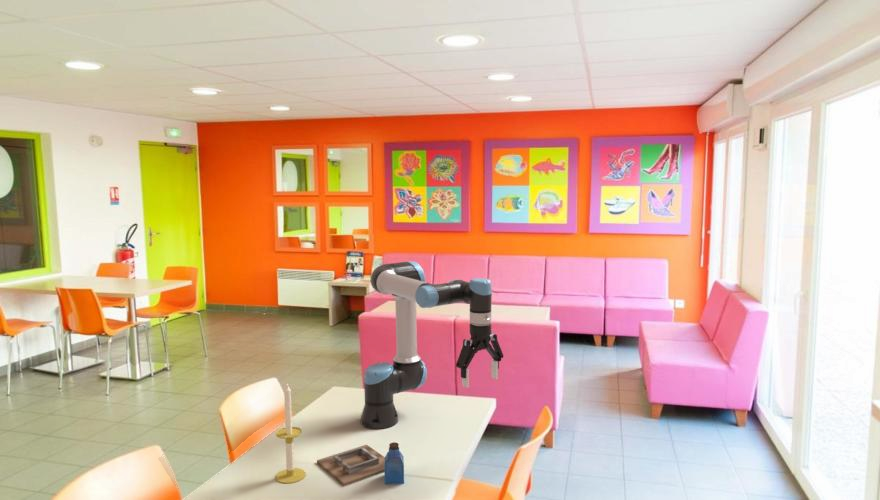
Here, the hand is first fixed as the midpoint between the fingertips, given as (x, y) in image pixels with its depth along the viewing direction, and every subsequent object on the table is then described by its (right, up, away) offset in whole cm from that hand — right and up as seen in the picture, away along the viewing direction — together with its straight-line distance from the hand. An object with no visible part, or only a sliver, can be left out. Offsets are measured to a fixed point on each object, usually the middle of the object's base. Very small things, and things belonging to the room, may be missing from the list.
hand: (480, 382), depth 207 cm
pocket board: (-43, -28, -2) cm, 52 cm away
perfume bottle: (-29, -30, -12) cm, 43 cm away
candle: (-64, -29, -9) cm, 71 cm away
